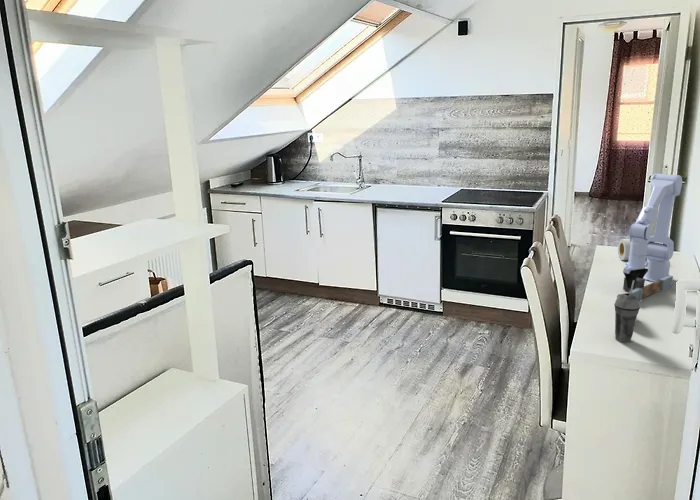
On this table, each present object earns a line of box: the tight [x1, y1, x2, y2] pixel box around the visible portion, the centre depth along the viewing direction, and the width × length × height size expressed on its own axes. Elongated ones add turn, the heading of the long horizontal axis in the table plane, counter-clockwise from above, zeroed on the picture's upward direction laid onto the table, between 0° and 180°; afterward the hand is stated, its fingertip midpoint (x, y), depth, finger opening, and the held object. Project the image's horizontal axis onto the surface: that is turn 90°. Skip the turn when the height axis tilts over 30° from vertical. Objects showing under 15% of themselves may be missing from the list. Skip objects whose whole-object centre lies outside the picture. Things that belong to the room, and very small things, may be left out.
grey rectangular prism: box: [622, 276, 646, 292], centre depth 217 cm, size 4×6×5 cm, turn 35°
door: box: [641, 280, 661, 299], centre depth 213 cm, size 15×1×4 cm, turn 125°
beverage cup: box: [614, 280, 641, 344], centre depth 174 cm, size 7×7×20 cm
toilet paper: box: [617, 238, 647, 261], centre depth 256 cm, size 10×10×10 cm
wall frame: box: [628, 274, 674, 302], centre depth 214 cm, size 30×2×4 cm, turn 125°
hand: (633, 287), depth 217 cm, fingers closed on grey rectangular prism, 4 cm apart
